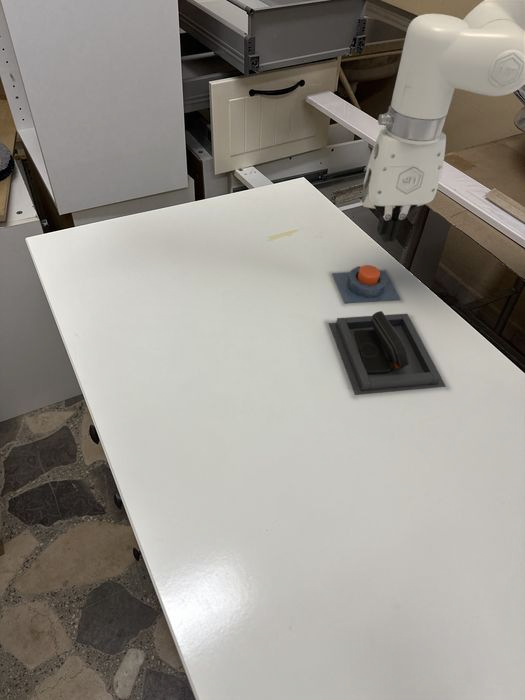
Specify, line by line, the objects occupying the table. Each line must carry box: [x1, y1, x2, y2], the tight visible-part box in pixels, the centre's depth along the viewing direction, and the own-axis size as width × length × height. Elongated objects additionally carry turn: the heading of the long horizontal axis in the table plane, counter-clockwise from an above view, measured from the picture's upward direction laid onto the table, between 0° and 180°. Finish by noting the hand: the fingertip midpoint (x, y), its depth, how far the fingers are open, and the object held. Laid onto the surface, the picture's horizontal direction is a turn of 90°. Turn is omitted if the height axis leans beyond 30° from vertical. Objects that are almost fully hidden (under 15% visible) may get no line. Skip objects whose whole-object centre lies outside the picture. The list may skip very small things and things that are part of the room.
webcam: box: [354, 310, 409, 373], centre depth 78 cm, size 9×6×6 cm
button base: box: [331, 265, 401, 304], centre depth 91 cm, size 10×8×3 cm
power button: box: [357, 264, 381, 285], centre depth 90 cm, size 4×4×2 cm
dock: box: [328, 313, 447, 396], centre depth 80 cm, size 14×15×2 cm
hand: (385, 236), depth 84 cm, fingers closed
